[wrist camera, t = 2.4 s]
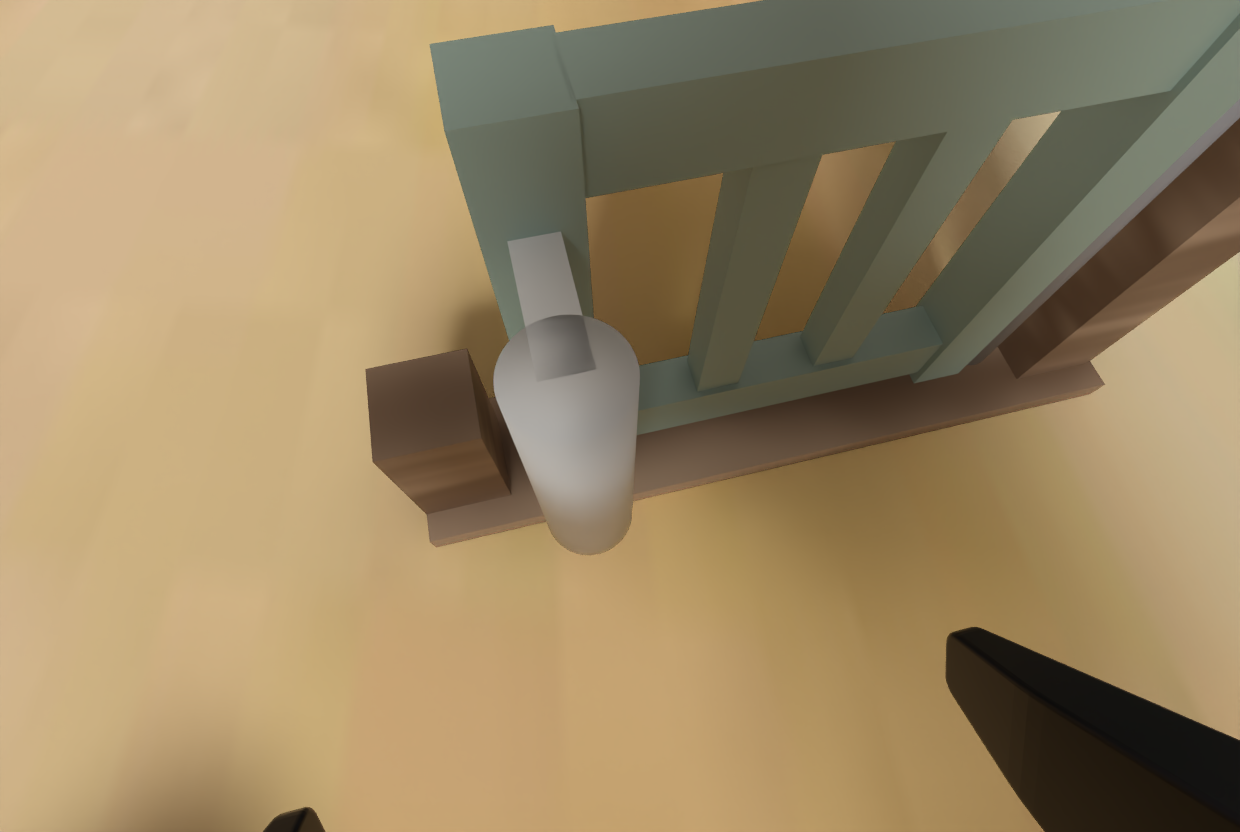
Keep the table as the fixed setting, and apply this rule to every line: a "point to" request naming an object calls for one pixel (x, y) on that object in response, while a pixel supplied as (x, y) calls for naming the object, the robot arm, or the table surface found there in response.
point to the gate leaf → (804, 193)
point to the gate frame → (826, 423)
